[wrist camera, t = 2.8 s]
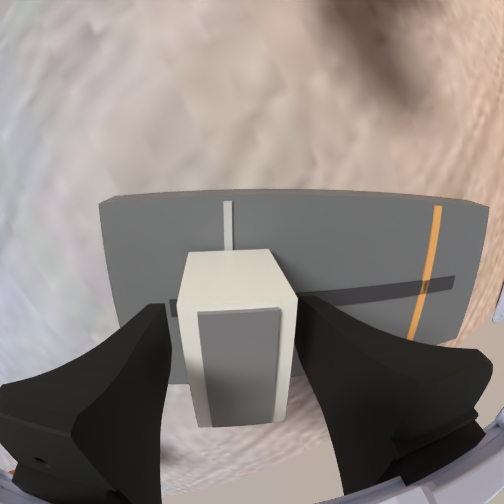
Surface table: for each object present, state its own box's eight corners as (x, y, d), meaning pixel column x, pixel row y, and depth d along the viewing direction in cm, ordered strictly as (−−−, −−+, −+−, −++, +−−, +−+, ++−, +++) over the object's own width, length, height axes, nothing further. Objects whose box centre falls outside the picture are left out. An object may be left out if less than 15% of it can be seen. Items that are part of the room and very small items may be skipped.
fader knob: (269, 248, 11) (299, 301, 7) (265, 353, 12) (285, 423, 9) (188, 252, 10) (175, 308, 7) (199, 357, 12) (198, 431, 8)
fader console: (467, 200, 14) (490, 207, 12) (440, 323, 17) (457, 338, 15) (114, 196, 12) (97, 203, 10) (142, 359, 14) (136, 384, 12)
